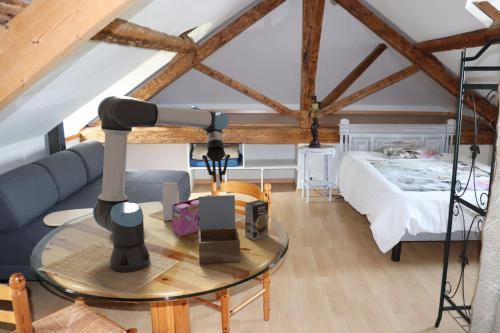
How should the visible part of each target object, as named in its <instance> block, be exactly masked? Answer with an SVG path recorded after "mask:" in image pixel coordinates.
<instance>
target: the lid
mask: <svg viewBox="0 0 500 333" xmlns="http://www.w3.org/2000/svg"><path fill="white" fill-rule="evenodd" d="M235 196H236V195H235V194H226V195H211V196H208V195H203V196H202V195H200V196H198V198H199V222H200V230H207V229H228V228H236V197H235Z"/></svg>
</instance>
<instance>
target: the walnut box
mask: <svg viewBox="0 0 500 333" xmlns="http://www.w3.org/2000/svg"><path fill="white" fill-rule="evenodd" d="M198 257H199V258H198V261H199V265H200V266H201V265H212V264H213V265H214V264H215V265H217V264H231V263H232V264H234V263H241V240H240V236H239V232H238V229H237V227H235V228H223V229H203V230H199V231H198Z"/></svg>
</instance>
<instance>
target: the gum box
mask: <svg viewBox="0 0 500 333" xmlns="http://www.w3.org/2000/svg"><path fill="white" fill-rule="evenodd" d="M207 196H212V195H211V194H208V195H207ZM198 230H200V222H199V197H197V198H196V197H195V198H193V199H190V200H185V201H182V202H179V203H177V204H173V205H172V232H173V233H175V234H177V235H179V236H181V237H183V236H186V235H190V234H192V233H196V232H199V231H198ZM195 231H196V232H195Z"/></svg>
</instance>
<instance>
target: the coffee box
mask: <svg viewBox="0 0 500 333" xmlns="http://www.w3.org/2000/svg"><path fill="white" fill-rule="evenodd" d="M244 204H245V208H244V212H245V214H244V217H245V218H244V221H245V222H244V237H245V238H247V239H250V240H252V241H255V240H259V239H261V238H264V237H268V236H269V201H265V200H261V199H258V200H257V199H256V200H253V201H250V202H245V203H244Z"/></svg>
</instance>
